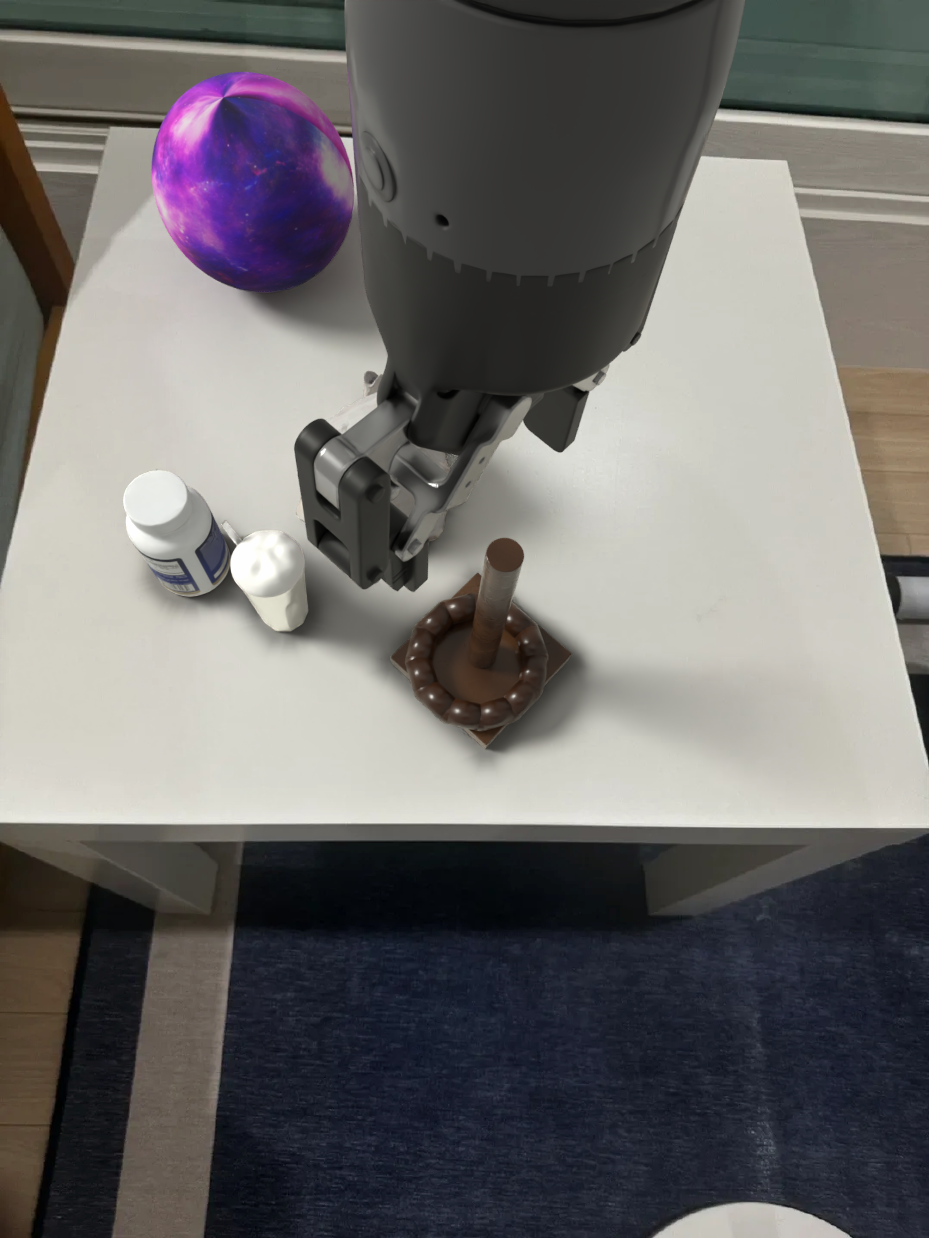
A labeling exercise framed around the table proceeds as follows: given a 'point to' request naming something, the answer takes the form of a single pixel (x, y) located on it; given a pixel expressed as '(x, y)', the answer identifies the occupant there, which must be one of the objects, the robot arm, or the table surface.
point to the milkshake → (271, 576)
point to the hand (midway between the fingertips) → (476, 500)
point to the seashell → (405, 499)
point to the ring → (462, 710)
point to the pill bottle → (175, 533)
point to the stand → (486, 638)
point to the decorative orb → (252, 182)
